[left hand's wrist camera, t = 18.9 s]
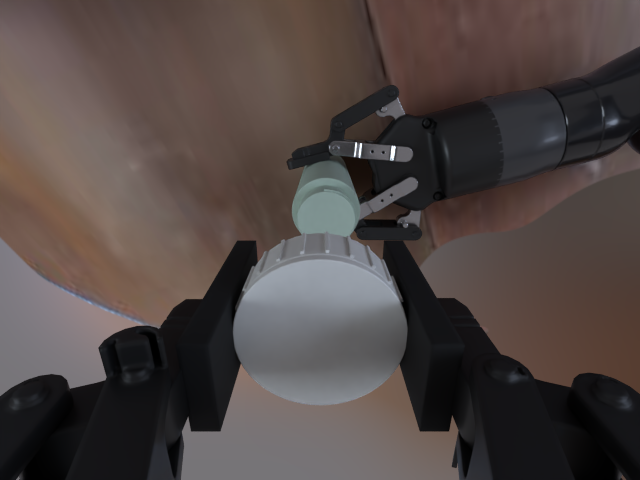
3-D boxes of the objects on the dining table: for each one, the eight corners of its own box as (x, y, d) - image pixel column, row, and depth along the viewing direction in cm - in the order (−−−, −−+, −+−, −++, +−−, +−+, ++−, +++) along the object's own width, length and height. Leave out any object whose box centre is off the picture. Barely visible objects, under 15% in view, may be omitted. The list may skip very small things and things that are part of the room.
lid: (300, 197, 11) (296, 219, 9) (428, 285, 12) (449, 322, 10) (216, 315, 13) (197, 355, 11) (336, 383, 14) (338, 431, 12)
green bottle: (344, 195, 39) (358, 256, 23) (302, 192, 38) (287, 251, 23) (349, 152, 37) (367, 186, 21) (305, 149, 37) (290, 181, 21)
